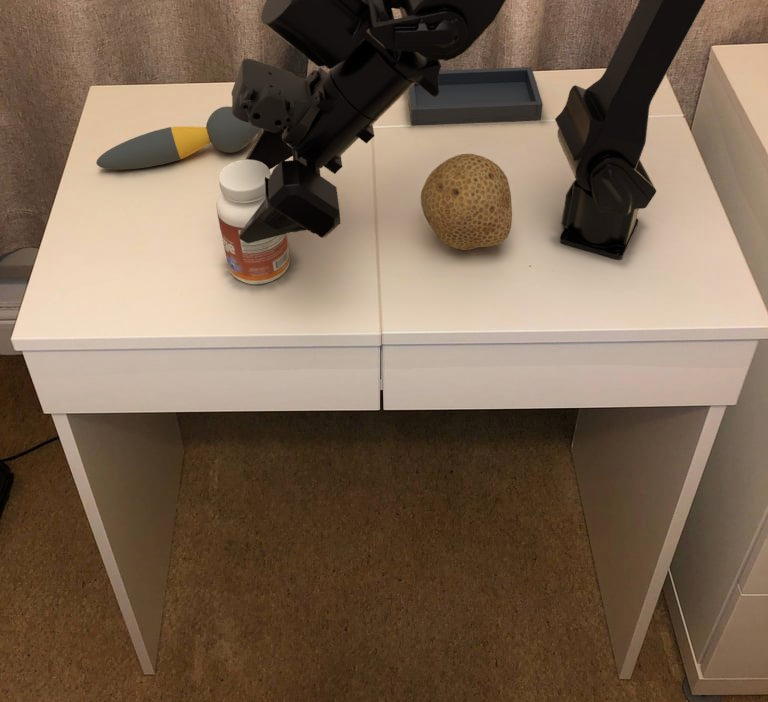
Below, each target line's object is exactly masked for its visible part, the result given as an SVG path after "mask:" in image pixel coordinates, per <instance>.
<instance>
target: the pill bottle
mask: <svg viewBox="0 0 768 702" xmlns="http://www.w3.org/2000/svg"><path fill="white" fill-rule="evenodd" d="M271 174H272V173H271V169H270V170H269V168H268V167H267V166H266V165H265V164H264V163H262V162H259V161H256V160H245V159H240V160H236V161H232V162H231V163H228V164H227V165H225V166H224V167H223V168H222V169H221V170H220V173H219V176H218V182H219V190H220V192H219V194H218V195H217V198H216V201H215V209H216V214H217V219H218V224H219V225H218V226H219V228H220V234H221V235H220V236H221V238H222V243H223V249H224V253H225V258H226V263H227V267H228V270H229V272H230V274H231V275H232V276H233V277H234V278H235V279H237V280H238V281H240V282H243V283H245V284H249V285H262V284H266V283H270V282H273V281H275V280H277V279H279V278H280V277H282V276H283V275H284V274H285V273H286V271H287V270H288V268H289V266H290V261H291V258H290V256H291V255H290V249H289V241H288V233H287V234H283V235H279V236H275V237H271V238H267V239H264V240H260V241H256V242H252V243H246V242H244V241H242V240H241V239H239V234H240V233H241V231H242V230H243V228H244V227H245V225H246V224H247V222H248V221H249V220H250V218H251V217H252V216H253V215H254V213H255V212H256V211H257V209H258V208H259V207H260V205H261V204H262V203H263V201H264V200H265V199H266V198H265V177H266V178H268V179H269V178H270V176H271Z"/></svg>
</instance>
